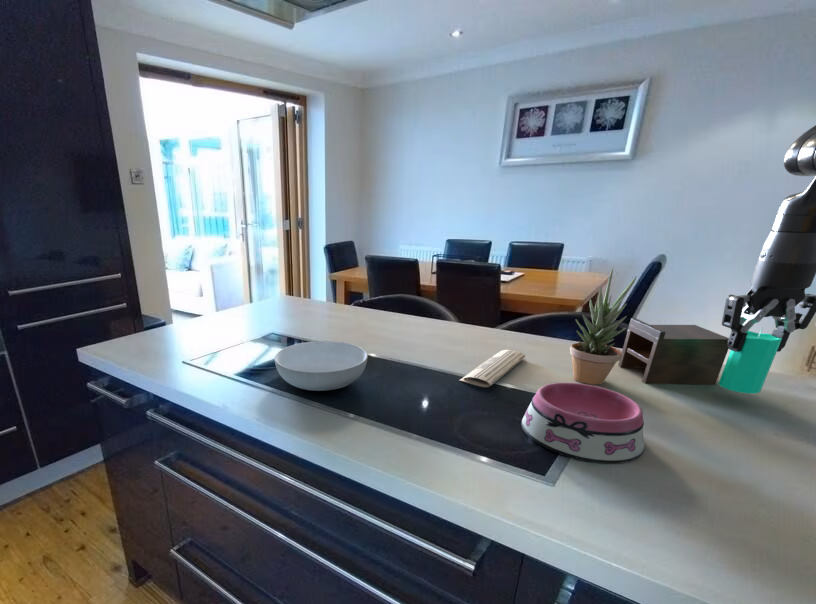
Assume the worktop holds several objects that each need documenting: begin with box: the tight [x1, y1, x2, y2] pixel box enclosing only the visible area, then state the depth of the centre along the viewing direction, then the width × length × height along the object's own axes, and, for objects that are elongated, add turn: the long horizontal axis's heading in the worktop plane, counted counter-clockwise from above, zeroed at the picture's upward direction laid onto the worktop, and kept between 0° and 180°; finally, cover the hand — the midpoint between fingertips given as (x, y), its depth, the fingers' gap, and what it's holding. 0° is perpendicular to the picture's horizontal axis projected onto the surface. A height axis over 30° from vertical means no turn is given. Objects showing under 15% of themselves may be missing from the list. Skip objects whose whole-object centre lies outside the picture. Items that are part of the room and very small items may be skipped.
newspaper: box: [458, 349, 526, 388], centre depth 106 cm, size 24×7×2 cm, turn 138°
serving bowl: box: [274, 340, 368, 392], centre depth 100 cm, size 21×21×7 cm
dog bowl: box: [520, 382, 645, 464], centre depth 76 cm, size 18×19×7 cm
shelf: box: [618, 317, 730, 386], centre depth 98 cm, size 14×11×12 cm
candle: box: [718, 327, 782, 395], centre depth 83 cm, size 6×6×12 cm
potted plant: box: [569, 267, 638, 385], centre depth 94 cm, size 10×10×25 cm
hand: (753, 350), depth 82 cm, fingers closed on candle, 6 cm apart
